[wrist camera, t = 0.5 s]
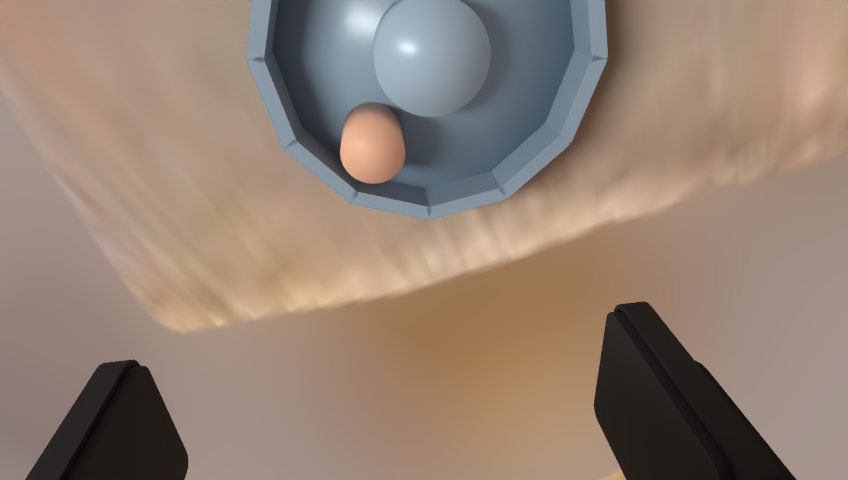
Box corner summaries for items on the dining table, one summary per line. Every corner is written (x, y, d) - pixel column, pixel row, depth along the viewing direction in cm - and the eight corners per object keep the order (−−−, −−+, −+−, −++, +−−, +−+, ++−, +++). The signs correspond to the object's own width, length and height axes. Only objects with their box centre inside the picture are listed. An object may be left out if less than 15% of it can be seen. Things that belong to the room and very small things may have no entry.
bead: (370, 89, 34) (371, 108, 30) (413, 130, 35) (418, 152, 32) (330, 131, 35) (326, 154, 31) (373, 168, 37) (374, 195, 33)
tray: (430, -256, 26) (440, -286, 23) (639, 47, 35) (669, 58, 32) (194, 47, 32) (173, 59, 29) (422, 240, 41) (428, 267, 38)
